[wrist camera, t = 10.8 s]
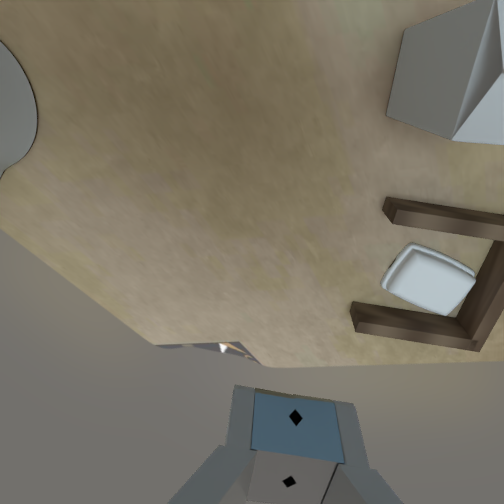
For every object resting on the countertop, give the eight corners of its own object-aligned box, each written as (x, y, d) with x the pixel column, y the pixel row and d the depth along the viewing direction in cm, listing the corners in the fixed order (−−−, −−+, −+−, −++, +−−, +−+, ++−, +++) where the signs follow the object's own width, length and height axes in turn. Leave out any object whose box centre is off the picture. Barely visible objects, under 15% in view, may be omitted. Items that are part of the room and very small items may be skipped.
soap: (476, 267, 40) (489, 281, 38) (439, 311, 43) (449, 326, 41) (408, 237, 39) (416, 248, 37) (375, 283, 42) (380, 297, 40)
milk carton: (460, 121, 33) (643, 167, 16) (384, 116, 34) (486, 154, 17) (487, 34, 30) (750, -23, 13) (403, 28, 30) (553, -34, 13)
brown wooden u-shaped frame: (349, 311, 44) (355, 332, 40) (386, 196, 37) (397, 209, 33) (463, 329, 44) (479, 352, 40) (521, 217, 37) (546, 232, 33)
